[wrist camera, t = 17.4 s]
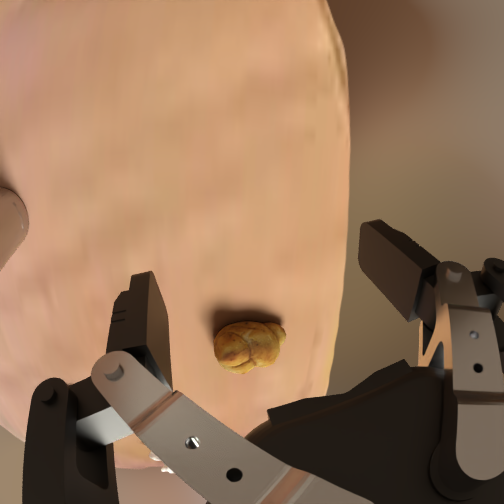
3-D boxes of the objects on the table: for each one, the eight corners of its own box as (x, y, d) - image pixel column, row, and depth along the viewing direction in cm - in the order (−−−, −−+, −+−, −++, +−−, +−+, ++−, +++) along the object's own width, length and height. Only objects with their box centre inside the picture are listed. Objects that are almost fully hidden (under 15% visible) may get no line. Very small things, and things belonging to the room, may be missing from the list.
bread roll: (284, 310, 52) (301, 343, 45) (277, 348, 56) (290, 380, 50) (209, 317, 48) (217, 353, 42) (210, 356, 53) (217, 391, 46)
